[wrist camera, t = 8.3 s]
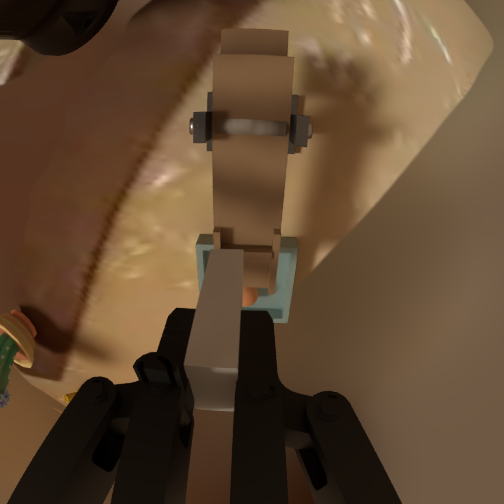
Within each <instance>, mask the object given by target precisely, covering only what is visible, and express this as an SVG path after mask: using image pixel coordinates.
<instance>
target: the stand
mask: <svg viewBox="0 0 504 504" xmlns="http://www.w3.org/2000/svg"><path fill="white" fill-rule="evenodd" d="M212 106H213V92H208V98H207V112H193V118H191V119H190V123H189V130H190V134H191V135H193V143H206V142H207V151H212ZM297 106H298V95H292V101H291V116H290V129H289V142H288V154H294V151H295V146H300V147H307V141H308V139H311V137H312V132H313V125H312V122H309V116H304V115H297Z"/></svg>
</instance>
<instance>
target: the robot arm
mask: <svg viewBox="0 0 504 504" xmlns="http://www.w3.org/2000/svg"><path fill="white" fill-rule="evenodd" d="M117 2H118V0H0V39H8V40H20V41H21V42H23V43H24V44H26V45H27V46H29V47H30V48H32V49H33V50H34V51H35V52H37V53H39V54H42V55H48V56H61V55H66V54H68V53H71V52H73V51H75V50H77V49H78V48H80V47H81V46H83V45H84V44H86V43H87V42H88V41H89V40H90V39H92V37H93V36H95V35H96V34H97V33H98V32H99V30H100V29H101V28H102V27H103V26H104V25H105V23H106V22H107V20H108V19H109V18H110V16H111V14H112V12H113V11H114V9H115V6H116V5H117ZM243 254H244V250H240V249H211V251H210V255H209V259H208V263H207V267H206V271H205V275H204V279H203V283H202V287H201V291H200V295H199V299H198V303H197V307H196V309H188V308H176V309H175V310H174V311H173V312H172V313H171V314H170V315H169V316H168V318H167V321H166V324H165V329H164V331H163V334H162V337H161V340H160V343H159V346H158V350H157V352H150V353H147V354H145V355H142V356H141V357H140V358H139V359H137V360H136V362H135V363H134V365H133V368H134V370H135V373H136V375H137V377H138V379H139V381H136V382H132V383H125V384H116V385H114V384H113V382H112V381H110V380H109V379H108V378H105V377H101V376H100V377H93V378H91V379H88V380H87V381H86V382H85V383H84V384H83V385H82V386H81V387H80V389H79V390H78V391H77V393H76V394H75V396H74V397H73V398H72V400H71V401H70V403H69V404H68V406H67V407H66V409H65V410H64V412H63V413H62V414H61V416H60V417H59V419H58V420H57V422H56V423H55V425H54V426H53V428H52V429H51V431H50V432H49V434H48V435H47V437H46V439H45V440H44V442H43V443H42V445H41V447H40V448H39V449H38V451H37V453H36V454H35V456H34V457H33V459H32V461H31V462H30V464H29V466H28V467H27V469H26V471H25V473H24V474H23V476H22V478H21V479H20V481H19V483H18V485H17V486H16V488H15V490H14V492H13V493H12V495H11V497H10V499H9V501H8V503H7V504H103V502H104V500H105V499H106V496H107V495H108V493H109V491H110V489H111V487H112V485H113V483H114V481H115V484H114V489H113V494H112V499H111V504H185V500H186V491H187V481H188V470H189V463H190V454H191V445H192V437H193V429H194V417H193V408H194V404H195V407H196V409H206V410H219V411H234V422H233V423H234V424H233V443H232V466H231V490H230V504H288V488H287V471H286V454H285V446H286V447H291V448H294V449H295V452H296V454H297V457H298V459H299V462H300V465H301V467H302V470H303V473H304V475H305V478H306V480H307V483H308V485H309V488H310V491H311V493H312V496H313V498H314V501H315V503H316V504H402V503H401V501H400V499H399V497H398V495H397V493H396V491H395V489H394V487H393V485H392V483H391V481H390V479H389V477H388V475H387V473H386V471H385V469H384V467H383V465H382V463H381V461H380V460H379V458H378V456H377V454H376V452H375V450H374V448H373V446H372V444H371V442H370V440H369V439H368V437H367V435H366V433H365V431H364V430H363V427H362V425H361V423H360V421H359V420H358V418H357V416H356V414H355V412H354V411H353V408H352V407H351V404H350V403H349V401H348V400H347V399H346V398H345V397H344V396H342V395H341V394H339V393H338V392H332V391H323V392H320V393H317V394H316V395H313V397H312V396H308V395H303V394H299V393H296V392H293V391H291V390H289V389H287V388H286V387H285V386H284V385H283V384H282V383H281V381H280V380H279V378H278V373H277V361H276V349H275V335H274V323H273V319H272V317H271V316H270V314H269V313H268V311H265V310H242V306H243Z"/></svg>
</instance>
